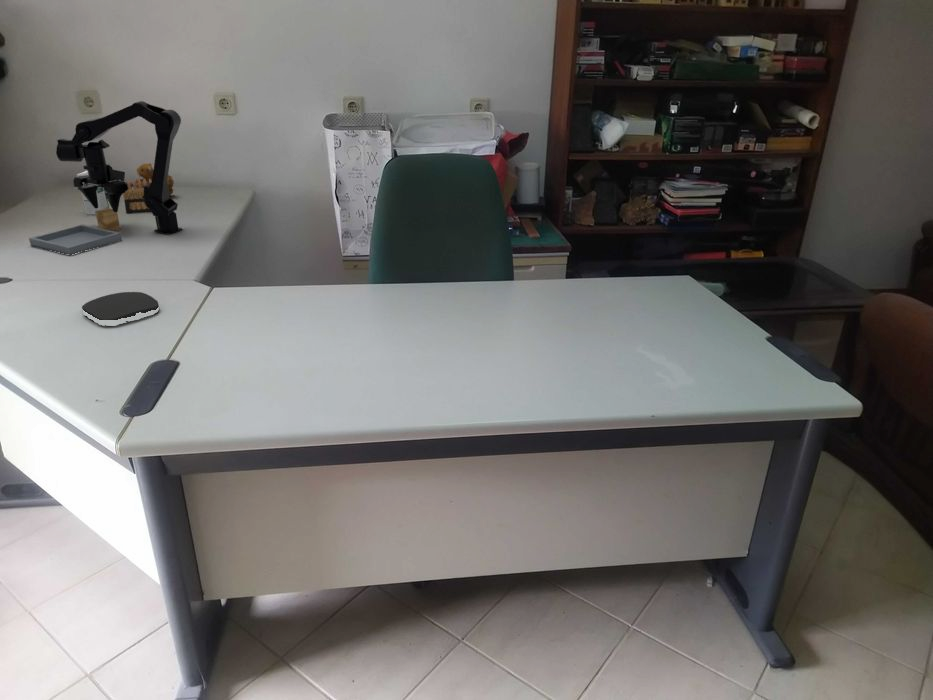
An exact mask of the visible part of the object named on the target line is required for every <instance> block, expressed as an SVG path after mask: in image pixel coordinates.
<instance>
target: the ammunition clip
mask: <svg viewBox="0 0 933 700" xmlns="http://www.w3.org/2000/svg"><path fill="white" fill-rule="evenodd" d="M137 179H138V187H139V189H138V188H137V185H136V180H135V179H133V180H132V184H131V181H130V179H127V182H126V183H127V184H128V189H129V190H127V191H126V192H125V193H123V194H122V196H123V200H124V207H125V213H126V214H127V215H128V214H129V215H130V214H142V213H145V214H146V213H152V212H151V210H150V209H149V208H148V207H147V206H146V205H145V203H144V198H142V197H143V195H144V191H143V188H142V184H141V181H140V179H141V178H137ZM151 182H152V181H151V179H149V183H151ZM145 185H147V182H146V180H145V179H144V186H145Z"/></svg>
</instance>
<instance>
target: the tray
mask: <svg viewBox="0 0 933 700" xmlns="http://www.w3.org/2000/svg"><path fill="white" fill-rule="evenodd" d="M122 238H123V237H122V234H121V232H118V231H110V230H105V229H101V228H99V227H96V226H91V225H86V224H77V225H74V226H71V227H67V228H63V229H58V230H55V231H52V232H48V233H44V234H40V235H35V236H32V237H29V238H28V241H29V243H30V246H31V247H33V248H37V247H38V248H37V249H41V248H42V249H41V250H45V249H47V250H46V251H49V250H52V251H51V252H53V251H56V252H55V253H57V252H60V253H59V254H61V253H64V254H63V255H65V254H69V255H72V254H75V253H78V252H81V251H85V250H89V249H92V250H94V249H93V248H96V249H98V248H97V247H99V248H101V246H102V247H105V246H109V245H111V243H112V244H115V243H118V242H121V241H123V239H122ZM108 244H109V245H108ZM104 245H105V246H104ZM89 251H90V250H89ZM69 255H68V256H69ZM72 256H73V255H72Z"/></svg>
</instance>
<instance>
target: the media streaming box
mask: <svg viewBox="0 0 933 700" xmlns="http://www.w3.org/2000/svg"><path fill="white" fill-rule="evenodd" d="M158 307H159V308H160V306H159V302H158V300H157V299H156V298H154V297H153V296H151V295H149V294H147V293H146V292H145V293H144V292H140V291H124V292H123V291H121V292H117V293H111V294H107V295H103V296H100V297H97V298H95V299H91V300H89V301H87V302H86V303H84V304H83V305H82V307H81V310H82V309H83V310H84V311H85V312H87V313H88V314H90V315H92V316H93V317H95V318H97V319H99V320H118V319H121V318H127V317H131V316H135V315H136V313H139V312H141V313H146V312H148V311H151V310H156V309H157V308H158ZM83 310H82V311H83Z"/></svg>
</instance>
